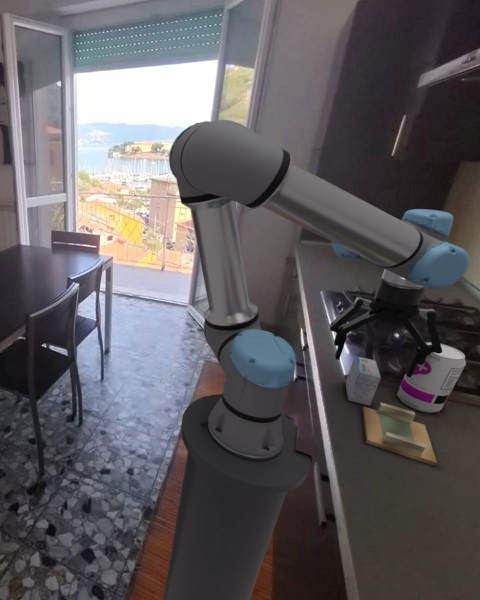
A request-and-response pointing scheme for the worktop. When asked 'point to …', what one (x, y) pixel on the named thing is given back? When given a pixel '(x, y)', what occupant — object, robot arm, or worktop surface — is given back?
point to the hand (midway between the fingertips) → (371, 365)
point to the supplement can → (432, 380)
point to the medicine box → (362, 380)
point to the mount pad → (398, 433)
